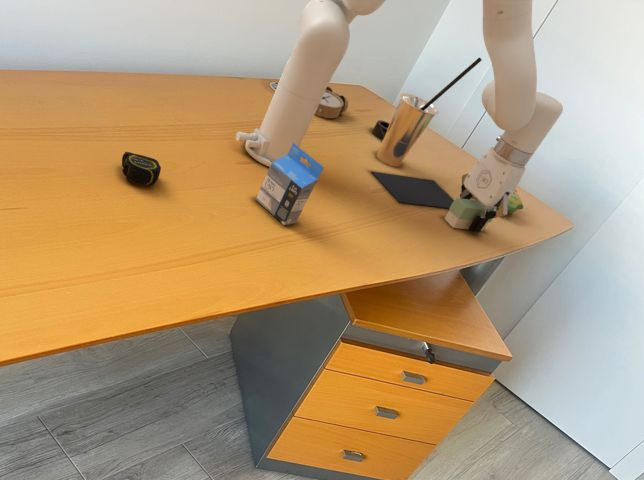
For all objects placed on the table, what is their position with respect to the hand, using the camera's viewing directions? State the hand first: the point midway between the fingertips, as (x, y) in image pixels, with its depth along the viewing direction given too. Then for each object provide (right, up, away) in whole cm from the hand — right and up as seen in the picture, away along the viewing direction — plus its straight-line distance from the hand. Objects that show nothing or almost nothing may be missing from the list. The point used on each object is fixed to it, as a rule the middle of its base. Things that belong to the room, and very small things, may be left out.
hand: (465, 222), depth 160 cm
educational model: (+14, +8, +18) cm, 24 cm away
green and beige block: (0, -1, 0) cm, 1 cm away
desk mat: (-9, +9, +7) cm, 14 cm away
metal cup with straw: (-12, +18, +16) cm, 27 cm away
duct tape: (-11, +29, +29) cm, 42 cm away
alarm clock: (-27, +36, +30) cm, 54 cm away
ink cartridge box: (-47, -3, -25) cm, 53 cm away
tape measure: (-73, +2, -32) cm, 80 cm away
